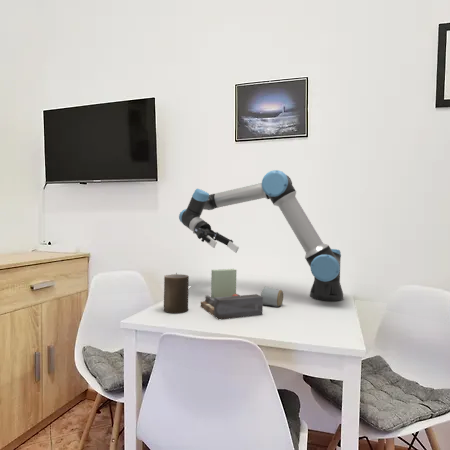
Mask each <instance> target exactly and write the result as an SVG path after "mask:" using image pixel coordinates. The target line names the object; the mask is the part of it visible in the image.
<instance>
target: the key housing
mask: <svg viewBox="0 0 450 450" xmlns="http://www.w3.org/2000/svg"><path fill="white" fill-rule="evenodd" d="M204 299H205V300H204V301H203V300H202V301H200V308H202V309H203V308H204V310H205V311H206V310H207V311H206V312H208V313H209V312H210V313H211V314H210V313H209V314H210V315H212V314H213V315H214V316H213V315H212V316H213V317H215V318H216V317H217V318H218V319H217V318H216V319H217V320H219V319H221V320H227V319H228V320H229V318H230V319H238V318H248V317H257V316H263V309H264V307H263V297H262V296H261V294H260V295H259V294H257V293H255V294H242V295H240V294H239V293H236V294H233V295H232V296H228V297H215V298H214V299H213V298H212V297H211V295H208V294H207V295H205V298H204Z"/></svg>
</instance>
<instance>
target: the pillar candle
mask: <svg viewBox="0 0 450 450" xmlns="http://www.w3.org/2000/svg"><path fill="white" fill-rule="evenodd" d="M189 277H190V276H189V275H188V274H181V273H180V274H179V273H177V272H176V273H175V274H166V275H164V278H163V280H164V281H163V311H164V312H166V313H169V314H183V313H186V312H188V311H189V280H190V279H189Z"/></svg>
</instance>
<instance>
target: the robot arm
mask: <svg viewBox="0 0 450 450" xmlns="http://www.w3.org/2000/svg"><path fill="white" fill-rule="evenodd" d="M296 195H297V190H296V189H295V187H294V185H293V181H292V179H291V177H290V176H289V175H287V174H286V173H285V172H283V171H281V170H278V169H276V170H275V169H274V170H273V169H272V170H270V171H268V172H267V173H266V174H264V176H263V178H262V179H261V182H260V183H259V182H258V183H255V184H251V185H245V186H242V187H238V188H234V189H233V188H232V189H230V190H225V191H220V192H216V193H212V194H210V193H209V192H207V191H205V190H202V189H200V188H195V190H194V191H193V194H192V195H191V196H192V197H191V198H190V201H189V203H188V206H187V208H185V209H183V210H182V211H181V212H179V215H178V219H179V222H181V224H182V225H183V226H185V227H186V228H188V229H189V230H190V231H192V233H193V234H195V235H196V236H197V239H199V240H201V242H202V243H204V242H205V243H207V244H208V245H209V246H210V247H212V248H214V249H215V248H216V245H217V244H218V242H219V243H221V244H223V245H225V246H226V247H227V248H229V249H230V250H231V251H233V252H234V253H236V254H237V252H238V251H239V249H240V247H239V246H238V245H236V244H235V243H234V241H233V240H232V239H229V238H228V237H226V236H224V235H222V234H220V233H219V232H218V231H214V230H212V226H211V224H209V223H208V222H207V221H206V220H204V219H203V218H201V215H202V214H203V211H204V210H206V211H212V210H215V209H218V208H223V207H228V206H232V205H238V204H242V203H247V202H251V201H256V200H261V199H266V200H270V202H271V203H272V205H273V206H276V207H278V208H279V210H280V211H281V213H282V215H283V217H284V219H285V220H286V222H287V224H288V225H289V226H290V228H291V230H292V232H293V233H294V235H295V237H296V239H297V240H298V242H299V244H300V245H301V247H302V249H303V251H304V252H305V256H304V259H305V261H306V262H307V264H308V266H309V268H310V271H311V274H312V276H313V277H314V279H313V283H312V286H311V289H310V292H309V296H310V298H311V299H314V300H318V301H325V302H326V301H327V302H339V301H343V300H344V292H343V287H342V284H341V258H342V254H341V250H339V249H336V248H331V247H330V245H329V244H325V243H324V242H323V240H322V238H321V236H320V235H319V233H318V232H317V230H316V229H315V226H314V225H313V223H312V222H311V221H310V218H309V217H308V214H306V212H305V211H304V209H303V208H302V207H303V206H302V205H301V203H300V202H299V201H298V199H297V197H296Z"/></svg>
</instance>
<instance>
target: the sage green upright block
mask: <svg viewBox="0 0 450 450" xmlns="http://www.w3.org/2000/svg"><path fill="white" fill-rule="evenodd" d="M237 271H238V270H237V269H235V268H223V269H211V273H210V275H211V278H210V279H211V280H210V281H211V282H210V283H211V285H210V291H211V292H210V297H212V298H213V299H214V298H215V297H228V296H232V295H233V294H237Z"/></svg>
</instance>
